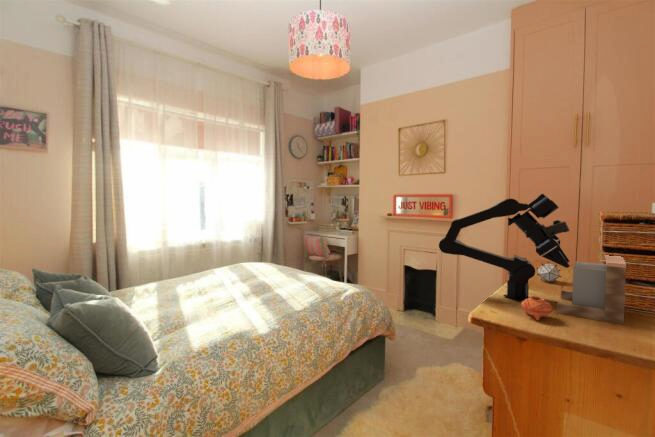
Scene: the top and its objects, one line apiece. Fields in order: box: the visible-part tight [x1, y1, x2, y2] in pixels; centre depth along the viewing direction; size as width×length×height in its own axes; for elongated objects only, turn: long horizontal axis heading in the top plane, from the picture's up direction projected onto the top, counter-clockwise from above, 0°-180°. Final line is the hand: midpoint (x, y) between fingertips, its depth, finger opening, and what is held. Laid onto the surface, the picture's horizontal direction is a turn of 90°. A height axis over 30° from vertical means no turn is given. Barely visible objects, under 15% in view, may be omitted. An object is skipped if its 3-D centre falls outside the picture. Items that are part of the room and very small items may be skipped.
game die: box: [536, 261, 562, 284], centre depth 131 cm, size 9×8×10 cm
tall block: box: [571, 261, 606, 309], centre depth 99 cm, size 9×11×14 cm
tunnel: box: [556, 254, 627, 325], centre depth 99 cm, size 15×18×17 cm
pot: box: [520, 295, 554, 321], centre depth 94 cm, size 8×8×7 cm
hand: (568, 264), depth 103 cm, fingers open, 9 cm apart
